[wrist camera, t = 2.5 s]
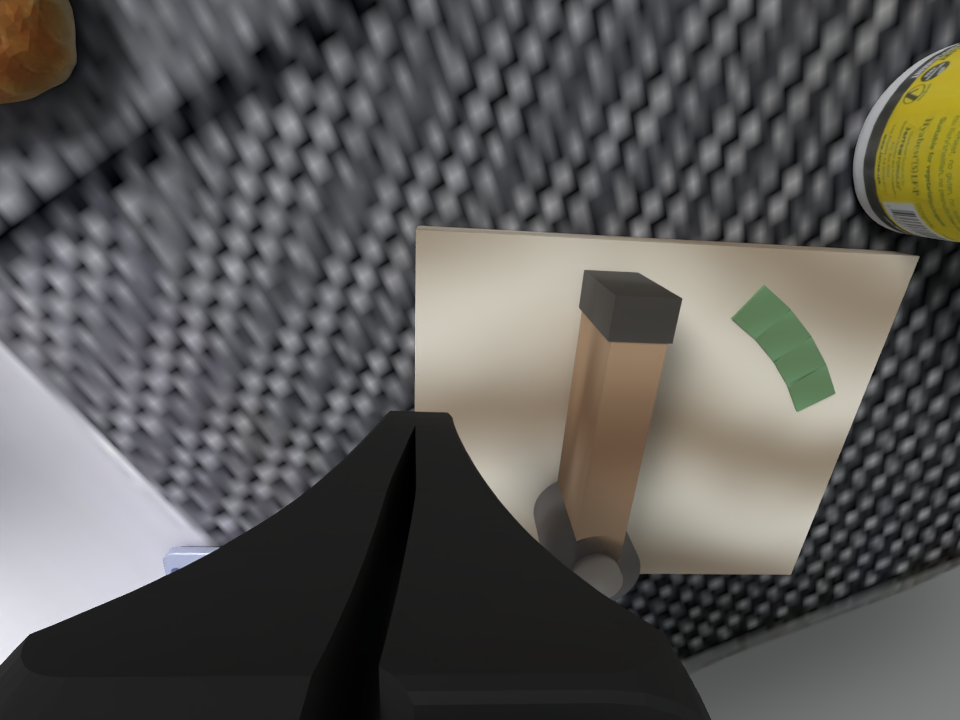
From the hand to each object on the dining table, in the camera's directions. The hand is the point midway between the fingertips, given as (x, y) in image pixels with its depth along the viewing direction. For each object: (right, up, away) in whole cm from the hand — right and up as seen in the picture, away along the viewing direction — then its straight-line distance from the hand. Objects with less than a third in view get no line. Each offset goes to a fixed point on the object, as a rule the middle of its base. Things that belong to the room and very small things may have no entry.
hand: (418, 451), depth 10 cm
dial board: (+7, 0, +8) cm, 11 cm away
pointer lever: (+5, 0, +6) cm, 8 cm away
